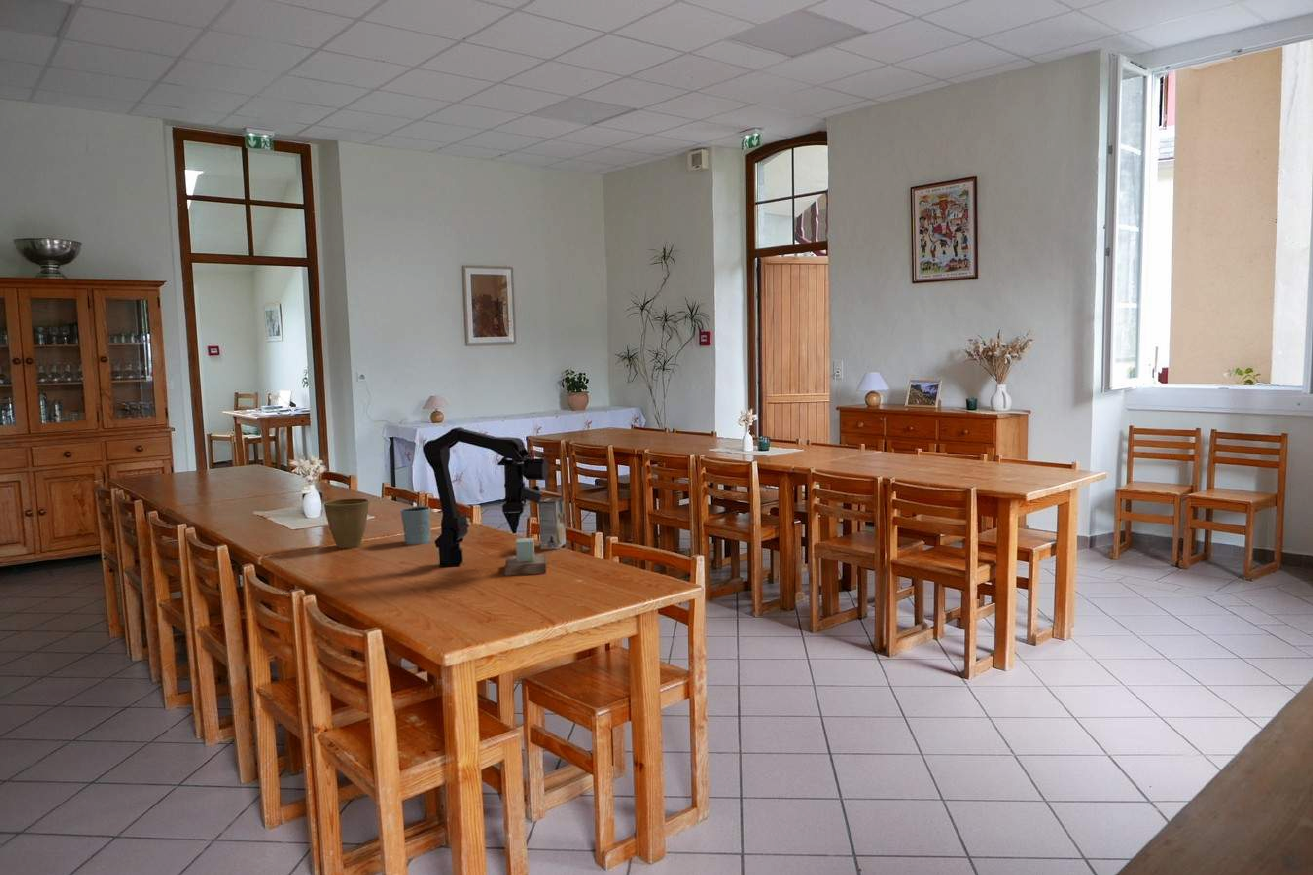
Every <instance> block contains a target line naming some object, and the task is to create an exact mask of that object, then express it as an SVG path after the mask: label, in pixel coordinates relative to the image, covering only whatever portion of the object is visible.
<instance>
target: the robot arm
mask: <svg viewBox="0 0 1313 875" xmlns="http://www.w3.org/2000/svg"><path fill="white" fill-rule="evenodd" d="M458 443H463V444H465V445H466V444H467V445H471V446H475V447H479V448H482V449H487V450H490V451H493V452H494V453H496V454H497V455H500V456H502V457H501V459H500V460H499V461H498V462H497V463H496V465H497V466H503V474H504V477H503V478H504V484H503V488H504V498H503V499H504V502H503V504H502V505H501V510H502V511H501V512H502V514H503V515H504V518H505V519H506V521H507V524H508V527H509V528H510V530H511V531H510V532H512V534H517V532H518V531H517V530H518V527H519V523H520V520H521V519H520V518H521V515H522V514H523V513H524V511H525V506H526V505H527V500H528V501H531V502H532V503H533V502H534V503H535V504H539V503H540V501H541V499H542V498H543V495H544V494H543V493H544V492H543V491H542V490H540V486H539V485H533V486H532V487H528V486H526V482H525V481H524V478H525V479H526V480H527V481H546V480H547V479H548V477H549V466H548V463H547V461H546V457H539V458H538V457H537V458H536V457H533V456H532V455H531V454H530V453H529V450H527V448H526V446H525V443H524V441H523V439H521V438H519V437H509V436H508V437H505V436H504V437H501V436H494V435H489V434H486V433H482V432H479V431H478V432H477V431H474V430H470V429H465V428H464V427H454V428H452V429H450V430H449V431H447V432H446V433H445V434H443V435H440V436H439V437H437V438H435V439H430V440H428V441H426V442H425V444H424V446H423V447H422V451H423V454H424V457H425V460H426V462H427V463H428V465H429V466H430V467H431V469H432V471H433V476H434V480H435V484H436V485H435V486H436V490H437V493H438V498H439V502H440V503H439V504H440V508H441V511H442V512H441V513H442V516H441V522H440V529H441V530H440V531H441V533H440V534H439V536H437V538H436V539H435V540H434V545H435V547H436V548H437V549H438V558H439V559H438V560H439V564H438V567H440V568H442V567H459V566H461V564H462V563H463V560H464V559H463V558H464V555H463V548H462V547H461V543H462V542H463V540H464V537H465V536H466V535H467V534H468V528H469V527H470V526H469V523H468V520H467V515H466V514H463V515H462V514H461V513H460V511H459V510H458V505H457V499H456V496H455V492H454V491H455V490H454V487H453V483H452V482H453V481H452V476H451V473H450V469H449V466H450V459H451V450H450V449H452V448H453V447H454V446H456V445H457V444H458Z"/></svg>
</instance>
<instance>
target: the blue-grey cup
mask: <svg viewBox="0 0 1313 875" xmlns="http://www.w3.org/2000/svg"><path fill="white" fill-rule="evenodd" d="M400 515H401V516H400V517H401V521H402V526H403V533H404V534H403V536H404V542H405V544H406V545H410V546H416V545H424V544H428V543H430V542H431V531H430V530H431V523H430V522H431V507H430V506H411V507H410V506H409V507H405V508H402V509H400Z"/></svg>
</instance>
